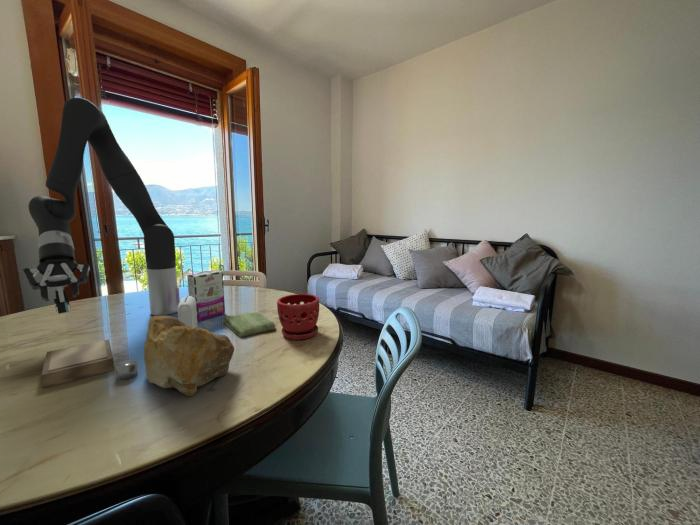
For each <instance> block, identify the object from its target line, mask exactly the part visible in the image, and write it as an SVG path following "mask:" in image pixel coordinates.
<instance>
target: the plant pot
mask: <svg viewBox="0 0 700 525" xmlns="http://www.w3.org/2000/svg"><path fill="white" fill-rule="evenodd" d="M276 306H277V309H276V310H277V315H278V319H279V322H280V325H281V327H282V328H281V334H282V335H283V337H285V338H287V339H289V340H296V341H298V340H299V341H300V340H304V339H309V338H311V337H314V336H315V335H316V334H317V333H318V331H319V326H318V325H317V324H318V323H317V322H318V321H319V314H320V298H319V296H317V295H315V294H309V293H294V294H293V293H292V294H287V295H285V296H284V295H283V296H282V297H280V298H278V299H277V302H276Z"/></svg>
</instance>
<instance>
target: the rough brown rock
mask: <svg viewBox="0 0 700 525" xmlns="http://www.w3.org/2000/svg"><path fill="white" fill-rule="evenodd" d="M143 350H144V351H143V353H144V358H143V359H144V360H143V361H144V365H145V367H144V368H145V376H146V379H147V380H148V381H149V383H151V384H155V385H156V386H158V387H160V388H162V389H168V388H169V389H171V388H175V389H176V390H177V391H178V392H180V393H181V394H183V395H185V396H187V397H192V396H194V394H196V393H197V392H198V388H199V387H202V386H205V385H206V384H208V383H209V382H212V380H214V379H215V378H218V377H223V376H225V375H227V374H228V372H229V368H230V367H229V366H230V363H231V360H232V358H233V355H234V352H235V347H234V344H233V343H232V341H231V340H230V338H229V336H227V335H226V334H218V333H214V332H211V331H210V330H209V329H205V328H203V327H195V328H190V327H189V326H186V325H185V324H184V323H182V322H181V321H179V320H178V317H174V316H170V315H169V316H168V315H152V316H151V317H150V318H149V320H148V326H147V331H146V338H145V342H144V347H143Z"/></svg>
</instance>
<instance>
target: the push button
mask: <svg viewBox="0 0 700 525" xmlns="http://www.w3.org/2000/svg"><path fill="white" fill-rule="evenodd" d="M44 283H46V286H47V287H48V288H50V289H54V292H55V298H54V299H53V302H54V304H55V306H54V307H55V311H56V313H57V314H58V315H59V314H60V315H61V314H64V313H69V311H70V310H72V307H71V303H70V300H71V299H70V296H67V294H66V289H65V287H68V286H69V285H71V278H70V277H67V276H66V275H54V276H49V277H48V280H45V281H44Z"/></svg>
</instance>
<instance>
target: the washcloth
mask: <svg viewBox="0 0 700 525" xmlns="http://www.w3.org/2000/svg"><path fill="white" fill-rule="evenodd" d="M223 324H224V325H225V326H226V327H228V328H229V329H230V331H232V332H233V333H234V334H236V335H237V336H238V337H240V338H243V337H247V336H253V335H256V334H259V333H265V332H270V331H274V330H275V328H276V325H275V322H274V321H273V320H271V319H269V318H268V317H266V316H264V314H262V312H259V311H257V312H256V311H255V312H254V311H253V312H246V313H244V312H243V313H238V314H235V315H226V316H225V317H224V323H223Z"/></svg>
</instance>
